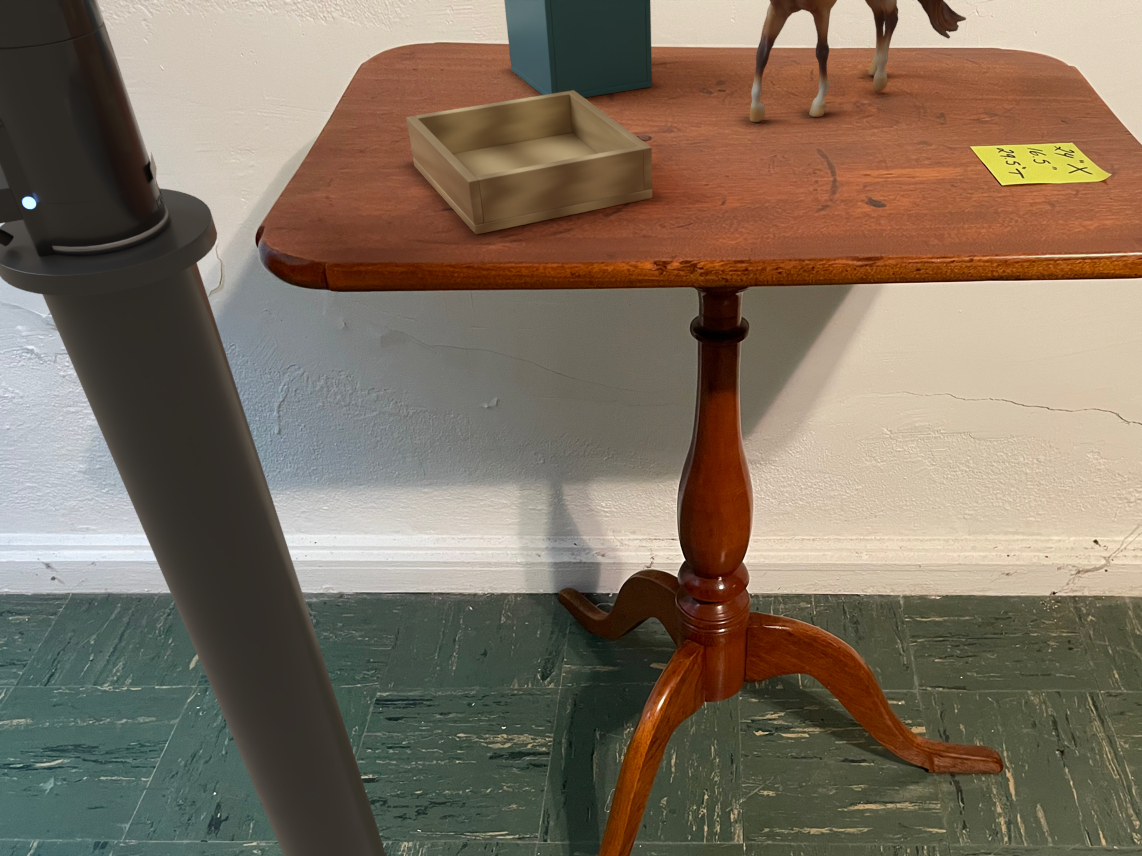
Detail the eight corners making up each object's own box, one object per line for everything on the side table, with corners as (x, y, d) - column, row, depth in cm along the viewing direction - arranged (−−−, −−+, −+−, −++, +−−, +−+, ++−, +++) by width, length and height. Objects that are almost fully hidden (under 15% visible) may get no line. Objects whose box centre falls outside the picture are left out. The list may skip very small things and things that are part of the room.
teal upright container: (552, 103, 107) (543, -13, 101) (511, 70, 115) (500, -40, 108) (652, 86, 112) (650, -26, 105) (606, 56, 119) (601, -50, 112)
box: (475, 235, 84) (468, 181, 82) (414, 166, 95) (405, 116, 92) (652, 198, 90) (651, 147, 88) (577, 137, 101) (573, 89, 98)
